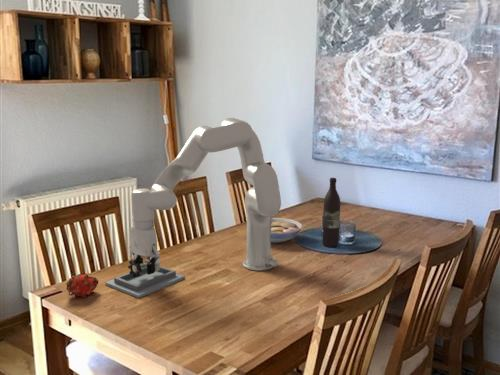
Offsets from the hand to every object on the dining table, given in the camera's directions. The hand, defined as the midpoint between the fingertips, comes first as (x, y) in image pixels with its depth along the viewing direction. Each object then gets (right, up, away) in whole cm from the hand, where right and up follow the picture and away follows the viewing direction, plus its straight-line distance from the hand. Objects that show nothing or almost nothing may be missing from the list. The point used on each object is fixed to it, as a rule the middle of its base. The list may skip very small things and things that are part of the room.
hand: (145, 270), depth 197 cm
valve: (+1, -1, +1) cm, 1 cm away
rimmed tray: (0, -4, +1) cm, 4 cm away
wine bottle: (+73, +5, +42) cm, 84 cm away
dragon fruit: (-19, -7, -10) cm, 23 cm away
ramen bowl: (+50, +6, +47) cm, 69 cm away
